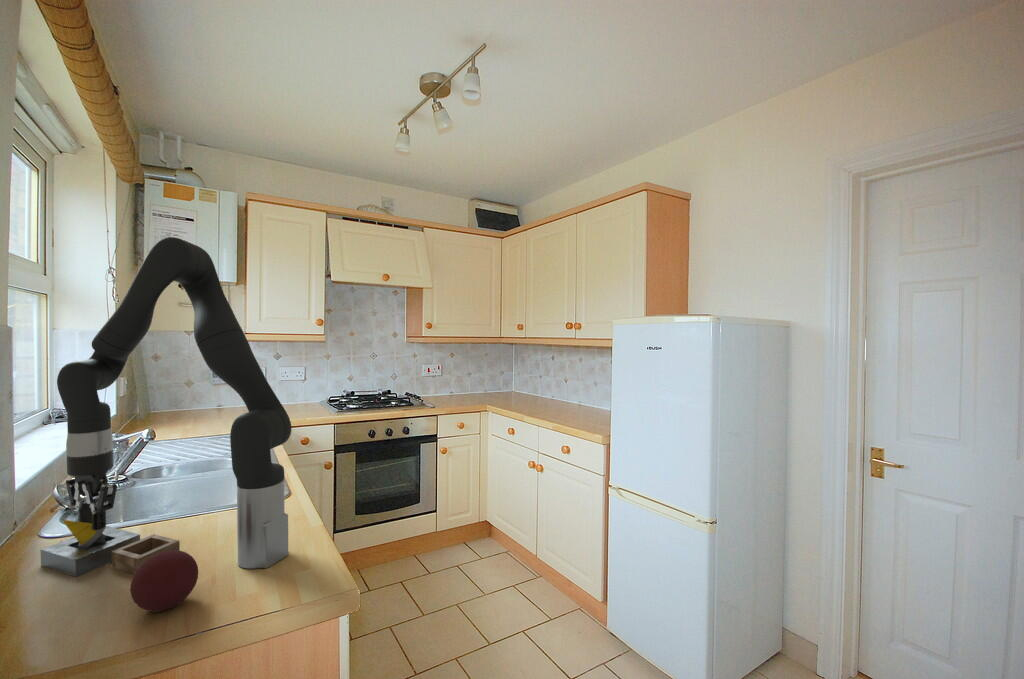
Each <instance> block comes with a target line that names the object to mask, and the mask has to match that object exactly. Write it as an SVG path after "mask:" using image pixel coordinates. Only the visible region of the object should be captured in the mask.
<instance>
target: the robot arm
mask: <svg viewBox="0 0 1024 679" xmlns="http://www.w3.org/2000/svg"><path fill="white" fill-rule="evenodd" d="M215 267H216V266H215V264H214V262H213V260H212V257H211V255H209V253H208V252H207V251H206V249H204V248H202V247H201V246H198V245H196V244H194V243H192V242H189V241H187V240H184V239H182V238H179V237H175V236H169V237H164V238H161V239H160V240H157V242H156V243H154V244H153V246H151V248H150V250H149V251H148V253H147V254H146V256H145V258H144V260H143V262H142V264H141V266H140V267H139V270H138V271H137V273H136V274H135V277H134V278H133V280H132V282H131V284H130V286H129V288H128V290H127V292H126V294H125V296H124V297H123V299H122V301H121V302H120V304H119V305H118V306H117V308H116V309H115V311H114V312H113V314H112V315H111V316H110V317H109V319H108V320H107V321H106V322H105V324H103V326H102V327H101V328H100V330H99V331H98V332H97V333H96V335H95V336H94V337H93V340H92V341H91V348H92V349H93V353H92V354H91V356H90V357H89V358H88V359H84V360H77V361H76V360H75V361H72V362H69V363H66V364H65V365H63V366H62V367H61V369H60V370H59V372H58V374H57V379H56V386H57V390H58V393H59V397H60V398H61V399H60V400H61V401H62V404H63V407H64V410H65V411H66V415H67V416H66V417H67V418H66V423H67V424H66V425H67V426H66V427H67V433H66V434H67V435H66V444H65V445H66V446H65V450H66V474H67V476H70V477H73V478H70V479H69V478H68V479H66V480H65V485H66V489H67V494H68V498H69V504H70V506H71V507H74V506H75V507H74V508H75V510H76V511H77V513H78V514H77V517H78V518H77V520H78V521H77V523H78V522H85V523H90V524H91V523H92V529H93V530H99V529H102V528H104V527H105V526H107V518H106V517H107V516H106V512H107V511H108V510H112V509H114V504H115V499H116V494H117V488H118V485H117V483H109V480H108V477H107V473H108V472H109V471H111V470H112V469H113V467H114V439H113V433H112V416H111V408H110V405H109V404H108V403H107V402H103V401H100V397H99V393H98V391H101V390H105V389H107V388H108V387H110V386H111V385H112V384H114V383H115V382H116V381H117V379H118V378H120V375H121V374H122V371H123V370H124V368H125V366H126V364H127V361H128V359H129V357H130V354H132V352H133V351H134V350H135V349H136V347H137V346H138V345H139V344H140V342H141V341H142V340H143V339H144V337H145V336H146V335H147V333H148V332H149V330H150V328H151V324H152V321H153V317H154V313H155V311H154V310H155V308H156V305H157V302H158V300H159V298H160V296H161V295H162V293H163V292H164V291H165V290H166V289H167V288H168V287H169V285H171V284H172V283H173V282H177V283H179V284H180V285H181V286H182V288H183V289H184V291H185V293H186V295H187V296H188V298H189V300H190V302H191V305H192V307H193V312H194V314H193V315H194V318H193V319H194V321H193V335H194V336H193V337H194V341H195V343H196V345H197V348H198V350H199V352H200V354H201V356H202V358H203V360H204V363H205V364H206V365H207V367H208V368H209V370H211V372H213V373H214V374H215V376H217V377H218V378H219V379H221V381H223V382H224V383H225V384H227V385H228V387H230V388H232V389H233V390H234V391H235V392H236V393H237V394H238V395H239V397H240V398H241V400H242V401H243V403H244V405H245V406H246V408H247V411H248V412H245V413H242V414H240V415H239V416H237V417H236V418H235V419H234V420H233V422H232V425H231V429H230V435H229V438H230V439H229V442H230V453H231V454H230V456H231V467H232V472H233V475H234V478H236V520H237V522H236V523H237V524H236V526H237V527H236V528H237V530H236V531H237V536H236V538H237V564H238V566H239V567H241V568H243V569H249V570H250V569H261V568H262V569H268V568H269V567H271V566H273V565H274V564H275V563H278V562H279V561H281V560H282V559H284V558H286V557H287V556H289V514H288V513H285V508H286V507H285V468H284V466H283V465H281V464H279V463H276V462H275V463H274V462H272V456H271V455H272V453H271V450H272V449H275V448H277V447H279V446H281V445H284V443H286V442H287V441H289V439H290V437H291V435H292V423H291V420H290V416H289V415H288V413H287V411H286V409H285V407H284V405H283V404H282V403H281V401H280V400H279V398H278V396H277V395H276V393H275V392H274V390H273V388H272V386H271V385H270V384H269V382H268V380H267V377H266V376H265V374H264V372H263V370H262V368H261V366H260V364H259V362H258V361H257V358H256V357H255V356H256V355H255V354H254V353H253V351H252V347H251V346H250V343H249V340H248V339H247V337H246V334H245V333H244V330H243V329H242V327H241V325H240V323H239V321H238V320H237V318H236V315H235V313H234V311H233V309H232V307H231V305H230V303H229V301H228V300H227V299H228V298H227V297H226V295H225V292H224V290H223V287H222V284H221V282H220V279H219V276H218V273H217V270H216V268H215ZM95 497H96V498H95Z"/></svg>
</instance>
